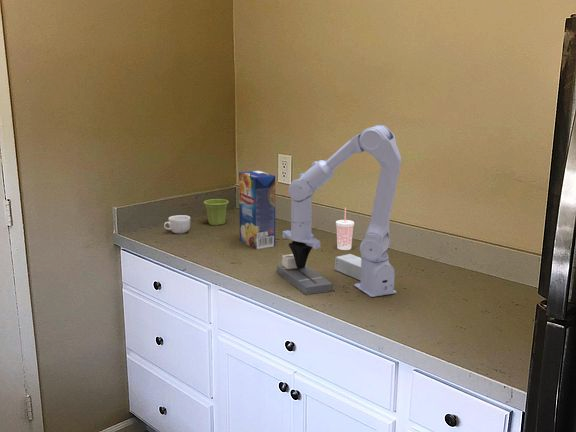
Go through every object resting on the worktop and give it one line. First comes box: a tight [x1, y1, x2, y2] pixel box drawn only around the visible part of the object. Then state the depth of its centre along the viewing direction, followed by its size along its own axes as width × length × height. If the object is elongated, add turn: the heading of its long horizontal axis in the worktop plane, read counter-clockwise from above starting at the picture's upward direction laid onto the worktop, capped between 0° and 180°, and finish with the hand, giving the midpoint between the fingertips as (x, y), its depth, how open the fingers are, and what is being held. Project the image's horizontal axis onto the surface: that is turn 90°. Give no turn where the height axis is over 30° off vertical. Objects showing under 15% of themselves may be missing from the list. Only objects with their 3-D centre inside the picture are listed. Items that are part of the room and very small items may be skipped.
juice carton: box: [238, 170, 276, 250], centre depth 205 cm, size 12×8×24 cm, turn 31°
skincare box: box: [334, 253, 361, 282], centre depth 178 cm, size 6×4×12 cm
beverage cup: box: [335, 206, 355, 251], centre depth 202 cm, size 6×6×14 cm
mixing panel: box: [276, 264, 334, 295], centre depth 172 cm, size 20×8×2 cm, turn 23°
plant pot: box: [203, 198, 229, 226], centre depth 233 cm, size 9×9×9 cm
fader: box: [281, 253, 308, 269], centre depth 177 cm, size 4×6×3 cm, turn 113°
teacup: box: [163, 214, 191, 235], centre depth 221 cm, size 10×8×5 cm
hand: (300, 267), depth 174 cm, fingers closed
